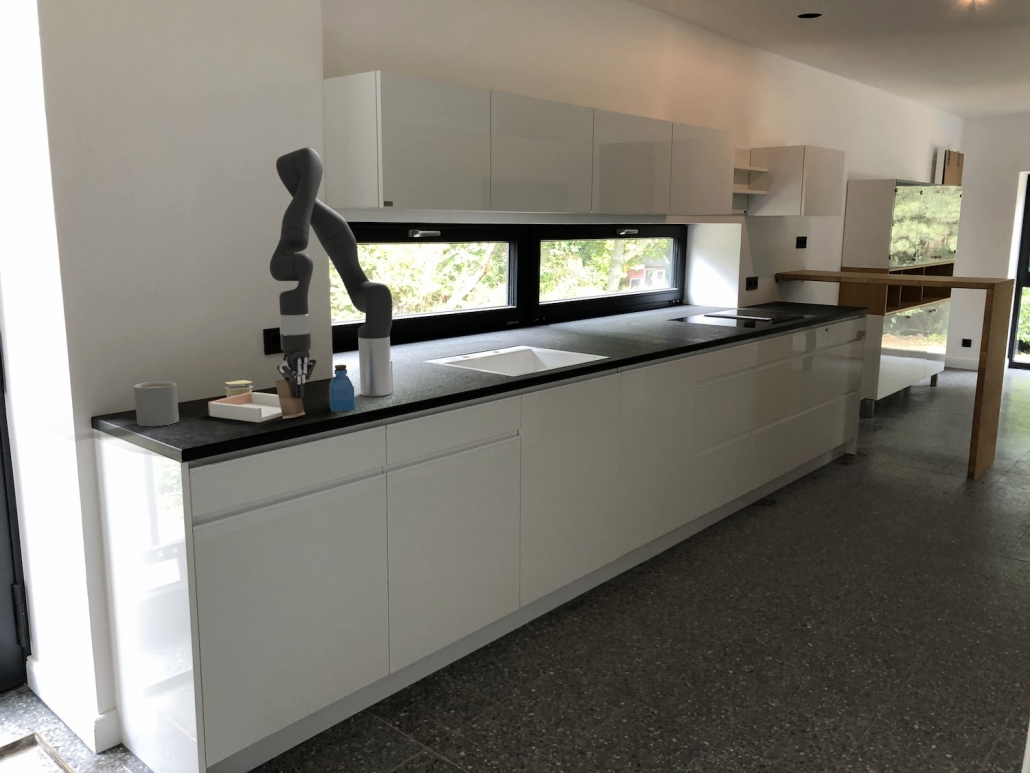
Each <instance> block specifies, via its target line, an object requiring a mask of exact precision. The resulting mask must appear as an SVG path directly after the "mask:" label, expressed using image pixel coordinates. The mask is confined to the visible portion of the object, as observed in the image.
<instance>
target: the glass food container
mask: <svg viewBox="0 0 1030 773" xmlns="http://www.w3.org/2000/svg"><path fill="white" fill-rule="evenodd" d="M224 383H225V384H227V386H225V387H224V389H226V393H225V396H226V398H228V397H232V396H236V395H240V394H245V393H249V392H251V393H253V390H252V388H254V385H249V384H252V381H251V380H245V379H244V380H242V379H241V380H233V381H227V382H224ZM228 385H229V386H228Z"/></svg>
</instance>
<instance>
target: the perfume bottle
mask: <svg viewBox="0 0 1030 773" xmlns="http://www.w3.org/2000/svg"><path fill="white" fill-rule="evenodd" d="M347 374H348V369H347V365H346V364H336V365H334V375H335V376H332V378H331V379H330V382H329V385H328V389H329V391H328V392H329V407H330V410H331V412H333V413H334V412H347V411H348V412H349V411H356V403H355V401H356V400H355V387H354V385H353V383H352V381H351V379H350V377H349V376H348V375H347Z"/></svg>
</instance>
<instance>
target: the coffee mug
mask: <svg viewBox="0 0 1030 773" xmlns="http://www.w3.org/2000/svg"><path fill="white" fill-rule="evenodd" d="M133 392H134V401H135V402H134V404H135V412H136V413H135V416H136V424H138V425H141V426H162V425H168V426H170V425H169V424H173V423H176V422H178V421H179V422H180V415H179V405H178V404H179V402H178V401H179V400H178V391H177V383H176V382H175V381H170V380H169V381H168V380H167V381H165V380H163V381H162V380H159V381H149V382H147V381H146V382H142V383H141V382H140V383H137V384H135V385H134V386H133ZM179 422H178V423H179ZM176 424H177V423H176ZM138 425H137V426H138ZM173 425H174V424H173ZM162 427H163V426H162Z"/></svg>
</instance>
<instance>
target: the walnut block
mask: <svg viewBox="0 0 1030 773" xmlns="http://www.w3.org/2000/svg"><path fill="white" fill-rule="evenodd" d="M275 385H276V391H277V395H278V397H279V402H280V406H281V411H282V416H281V417H282V419H283V420H284V419H291V418H297V417H300V416H303V415H306V412H305V409H304V402H303V398H300V399H298V398H294V396H293V386H292V384H291V383H287V382H286V381H285V379H284V378H283V379H280V380H276V381H275Z"/></svg>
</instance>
